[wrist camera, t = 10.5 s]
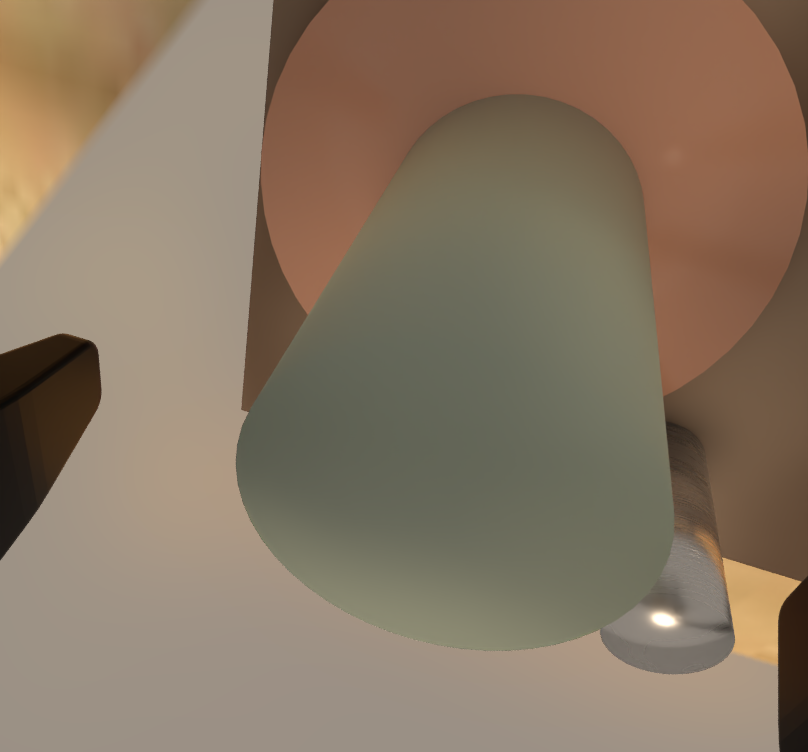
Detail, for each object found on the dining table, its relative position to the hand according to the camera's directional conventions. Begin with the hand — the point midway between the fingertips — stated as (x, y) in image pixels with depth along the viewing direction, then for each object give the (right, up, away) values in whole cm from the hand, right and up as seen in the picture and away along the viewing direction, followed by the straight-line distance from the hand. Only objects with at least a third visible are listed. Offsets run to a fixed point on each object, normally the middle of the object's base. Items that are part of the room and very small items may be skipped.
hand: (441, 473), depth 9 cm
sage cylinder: (+2, +4, +6) cm, 7 cm away
